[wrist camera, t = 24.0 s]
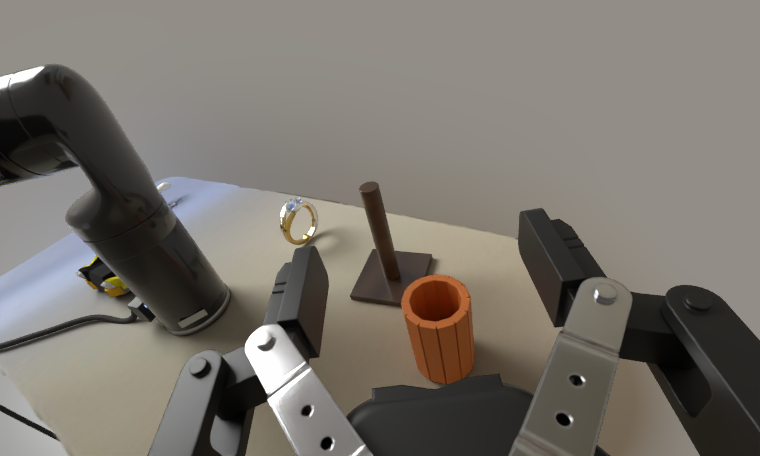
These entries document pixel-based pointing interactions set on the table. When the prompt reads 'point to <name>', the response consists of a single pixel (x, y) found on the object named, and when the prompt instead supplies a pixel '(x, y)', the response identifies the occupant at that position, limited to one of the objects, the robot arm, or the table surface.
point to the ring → (286, 225)
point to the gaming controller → (102, 278)
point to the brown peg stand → (385, 258)
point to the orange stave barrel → (440, 327)
